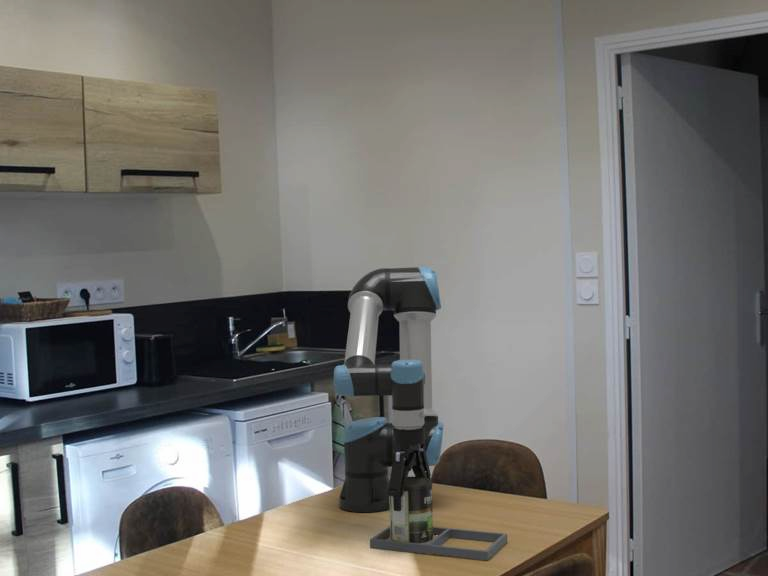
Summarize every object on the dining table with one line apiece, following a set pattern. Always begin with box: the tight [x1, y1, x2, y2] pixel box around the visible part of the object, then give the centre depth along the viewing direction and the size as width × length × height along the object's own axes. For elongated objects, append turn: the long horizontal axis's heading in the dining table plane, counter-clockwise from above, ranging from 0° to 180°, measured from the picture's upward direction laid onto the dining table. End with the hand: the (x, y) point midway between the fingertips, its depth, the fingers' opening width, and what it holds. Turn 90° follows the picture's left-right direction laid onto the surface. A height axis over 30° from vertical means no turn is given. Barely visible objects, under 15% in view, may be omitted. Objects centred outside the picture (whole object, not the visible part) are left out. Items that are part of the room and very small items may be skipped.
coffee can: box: [388, 476, 434, 544], centre depth 230 cm, size 10×10×14 cm
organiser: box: [369, 526, 508, 562], centre depth 227 cm, size 15×28×2 cm, turn 66°
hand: (410, 516), depth 230 cm, fingers open, 13 cm apart
